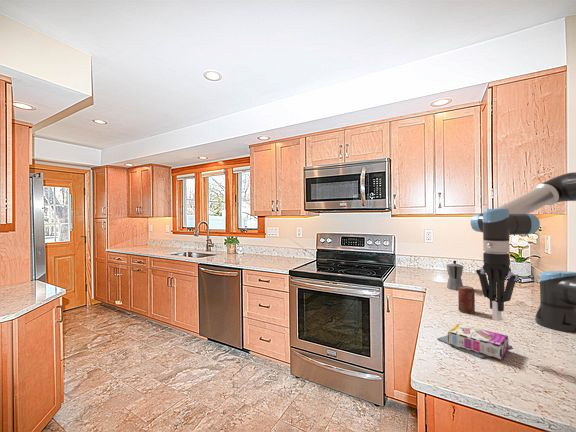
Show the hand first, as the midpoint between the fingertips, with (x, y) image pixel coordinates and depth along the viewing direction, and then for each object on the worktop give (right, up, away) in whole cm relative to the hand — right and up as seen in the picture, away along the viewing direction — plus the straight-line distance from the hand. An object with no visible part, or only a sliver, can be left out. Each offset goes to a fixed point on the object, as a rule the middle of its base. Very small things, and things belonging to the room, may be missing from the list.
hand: (496, 319), depth 102 cm
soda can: (+15, -11, +41) cm, 45 cm away
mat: (-4, -11, +7) cm, 14 cm away
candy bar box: (+1, -8, -3) cm, 9 cm away
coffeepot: (+34, -11, +83) cm, 91 cm away
